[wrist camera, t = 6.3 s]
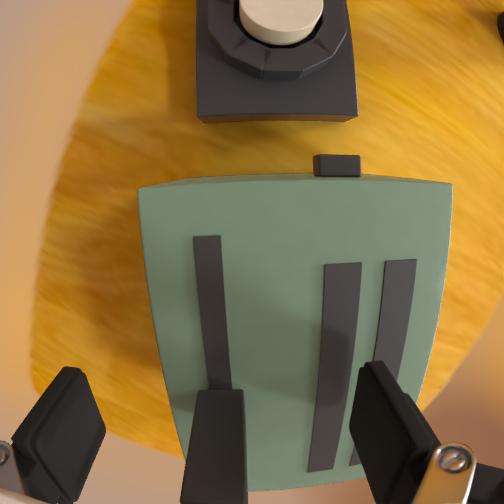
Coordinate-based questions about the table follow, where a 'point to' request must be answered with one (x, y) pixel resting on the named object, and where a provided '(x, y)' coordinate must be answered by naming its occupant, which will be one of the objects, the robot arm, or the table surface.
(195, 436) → the slider
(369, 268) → the toaster
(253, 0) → the button
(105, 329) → the table surface
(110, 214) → the table surface
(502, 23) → the drinking cup
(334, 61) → the control block
